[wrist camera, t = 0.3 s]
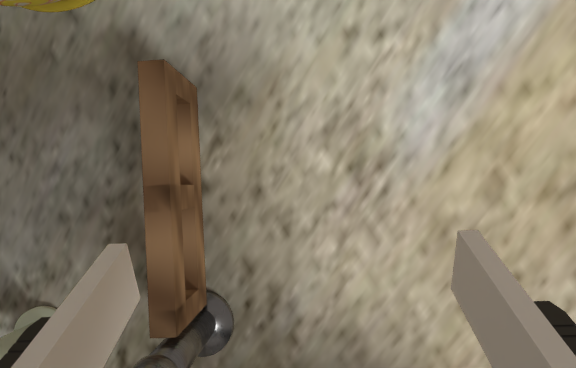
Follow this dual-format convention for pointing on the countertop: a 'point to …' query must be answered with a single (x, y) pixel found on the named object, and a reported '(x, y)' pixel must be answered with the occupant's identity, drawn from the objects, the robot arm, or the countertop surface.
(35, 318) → the post
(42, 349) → the robot arm
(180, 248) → the gate
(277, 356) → the countertop surface
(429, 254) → the countertop surface
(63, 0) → the flowerpot
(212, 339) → the hinge post
